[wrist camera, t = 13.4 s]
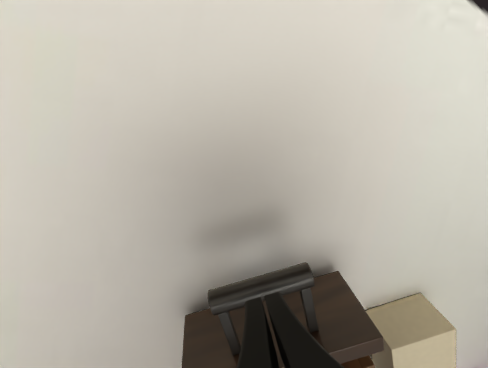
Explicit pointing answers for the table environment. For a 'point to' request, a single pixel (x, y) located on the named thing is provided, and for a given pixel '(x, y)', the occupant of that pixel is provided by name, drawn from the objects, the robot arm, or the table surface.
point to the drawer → (302, 305)
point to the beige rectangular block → (413, 335)
